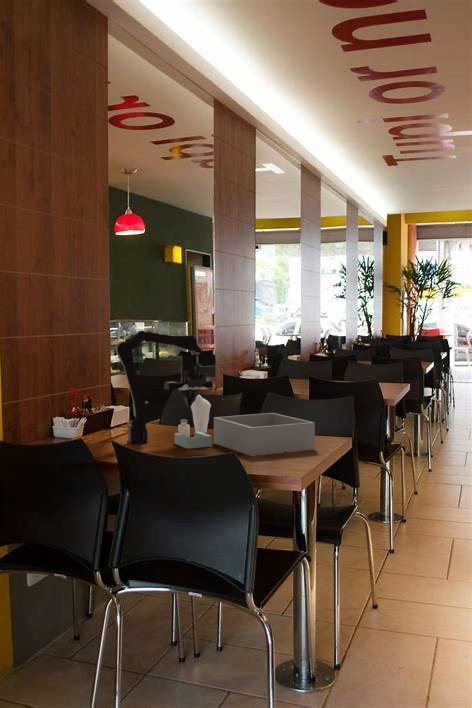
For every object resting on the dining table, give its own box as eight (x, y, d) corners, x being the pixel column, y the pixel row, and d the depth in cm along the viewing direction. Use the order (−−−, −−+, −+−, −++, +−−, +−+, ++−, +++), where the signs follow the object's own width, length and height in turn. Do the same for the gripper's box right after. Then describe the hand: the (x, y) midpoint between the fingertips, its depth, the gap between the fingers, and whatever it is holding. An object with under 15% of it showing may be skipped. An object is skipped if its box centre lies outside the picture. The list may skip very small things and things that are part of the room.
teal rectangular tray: (187, 448, 266) (187, 438, 265) (174, 443, 276) (174, 433, 276) (211, 446, 270) (211, 435, 270) (198, 441, 281) (198, 431, 281)
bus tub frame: (251, 456, 250) (251, 428, 250) (213, 443, 277) (213, 417, 276) (314, 450, 262) (314, 422, 261) (272, 437, 289) (272, 412, 288)
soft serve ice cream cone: (212, 431, 305) (212, 393, 305) (209, 434, 297) (209, 395, 296) (192, 431, 306) (192, 393, 305) (189, 434, 298) (189, 395, 297)
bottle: (181, 443, 278) (180, 421, 277) (176, 441, 282) (176, 419, 281) (191, 442, 280) (191, 420, 279) (187, 440, 284) (186, 418, 283)
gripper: (174, 369, 272) (174, 410, 273) (219, 367, 281) (219, 407, 282) (163, 367, 282) (163, 407, 283) (206, 366, 291) (207, 404, 291)
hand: (188, 407), depth 284 cm, fingers closed
